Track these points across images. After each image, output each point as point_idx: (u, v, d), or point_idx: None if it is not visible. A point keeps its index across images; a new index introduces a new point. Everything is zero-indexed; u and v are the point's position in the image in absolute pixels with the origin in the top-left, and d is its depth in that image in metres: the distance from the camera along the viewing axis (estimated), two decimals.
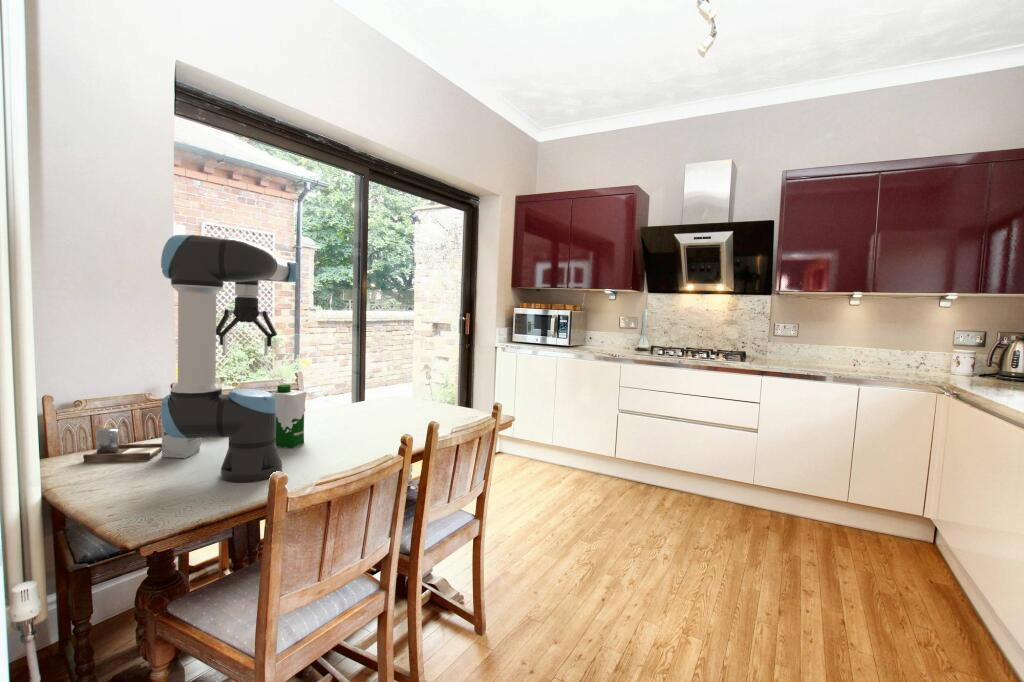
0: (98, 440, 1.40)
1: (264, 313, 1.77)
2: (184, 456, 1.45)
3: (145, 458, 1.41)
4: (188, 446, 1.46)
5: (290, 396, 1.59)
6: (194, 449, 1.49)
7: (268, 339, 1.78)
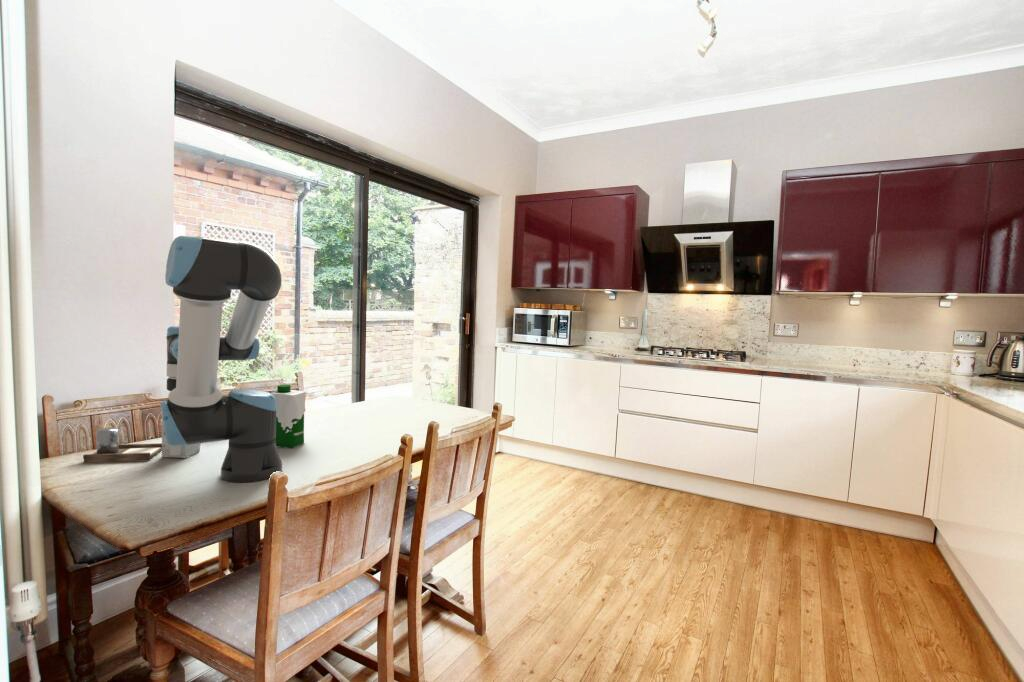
0: (98, 440, 1.40)
1: None
2: (184, 456, 1.45)
3: (145, 458, 1.41)
4: (188, 446, 1.46)
5: (290, 396, 1.59)
6: (194, 449, 1.49)
7: None
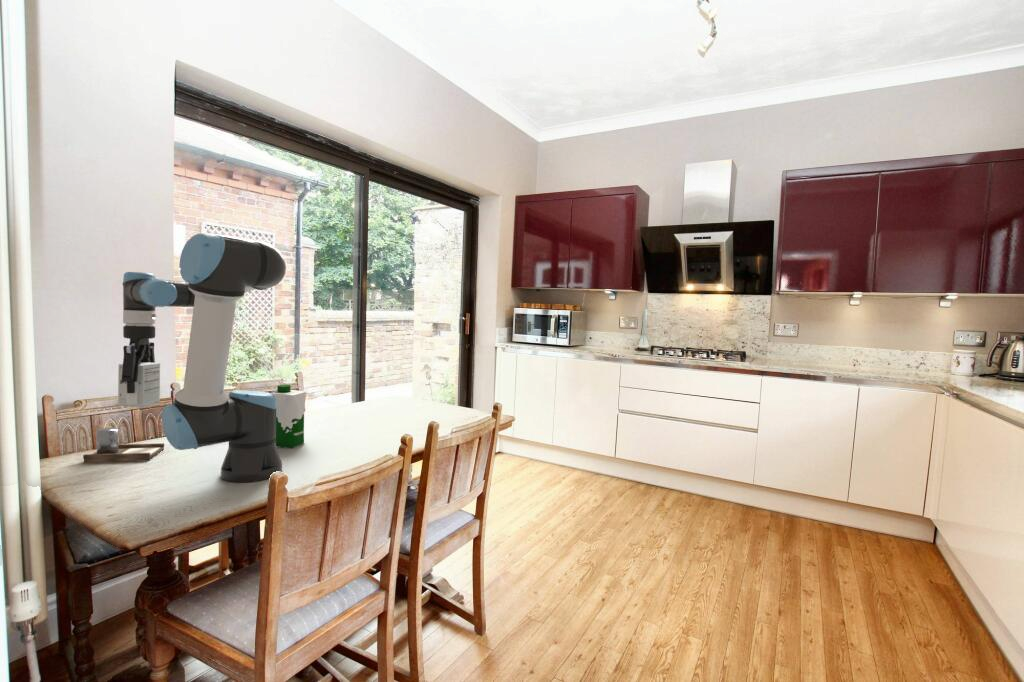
0: (98, 440, 1.40)
1: None
2: (141, 405, 1.41)
3: (145, 458, 1.41)
4: (146, 396, 1.42)
5: (290, 396, 1.59)
6: (153, 400, 1.45)
7: None
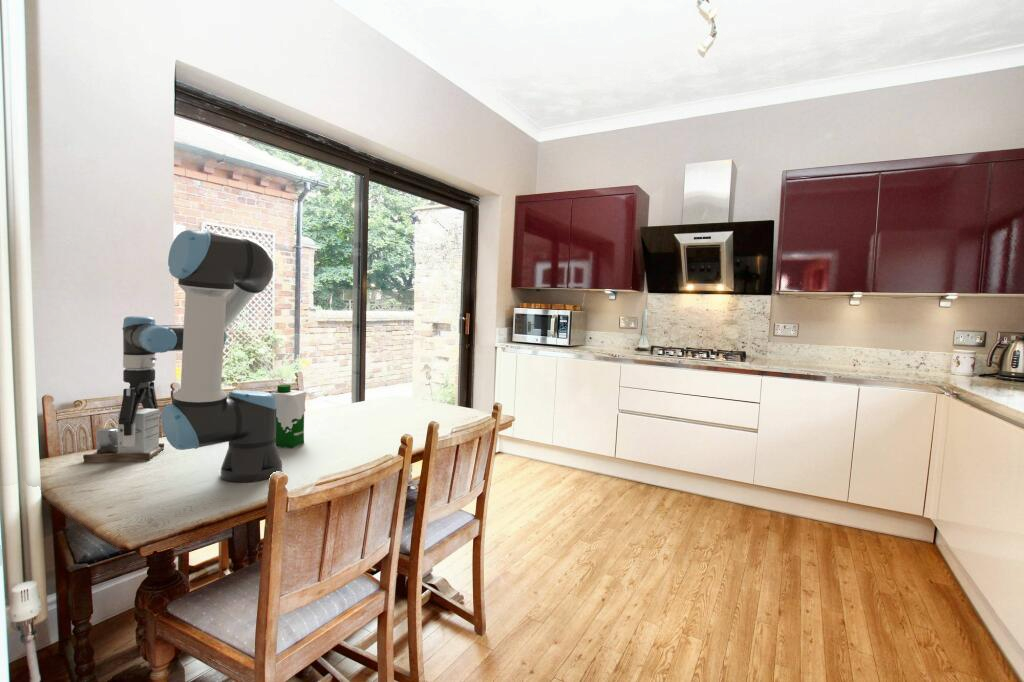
0: (98, 440, 1.40)
1: None
2: None
3: (145, 458, 1.41)
4: (146, 443, 1.43)
5: (290, 396, 1.59)
6: (152, 446, 1.46)
7: None
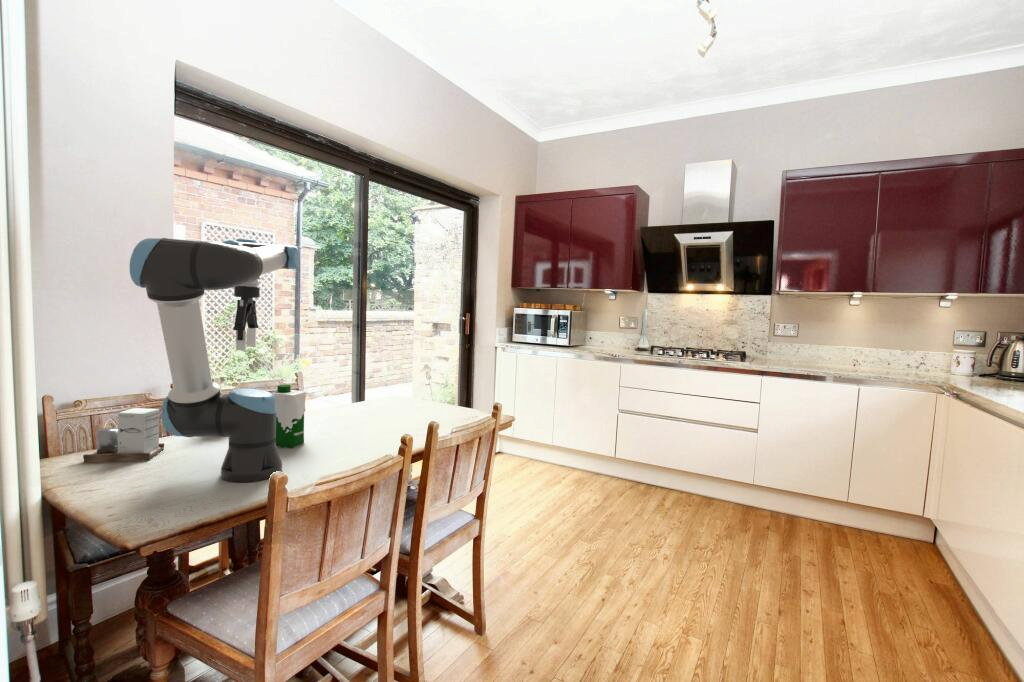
0: (98, 440, 1.40)
1: None
2: None
3: (145, 458, 1.41)
4: (146, 443, 1.43)
5: (290, 396, 1.59)
6: (152, 446, 1.46)
7: None
